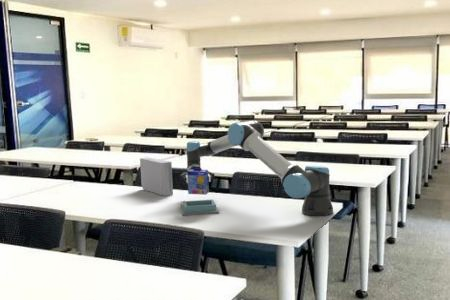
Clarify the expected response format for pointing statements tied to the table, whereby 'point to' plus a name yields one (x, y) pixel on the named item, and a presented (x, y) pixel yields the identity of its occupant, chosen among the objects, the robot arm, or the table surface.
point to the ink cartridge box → (198, 181)
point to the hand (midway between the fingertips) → (198, 179)
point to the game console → (156, 176)
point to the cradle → (199, 207)
